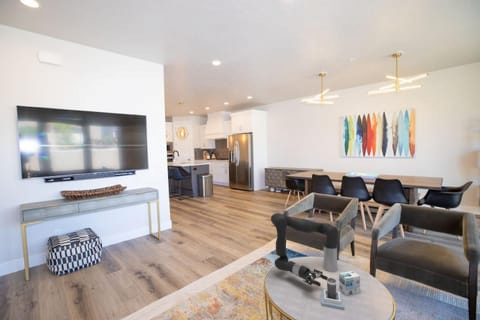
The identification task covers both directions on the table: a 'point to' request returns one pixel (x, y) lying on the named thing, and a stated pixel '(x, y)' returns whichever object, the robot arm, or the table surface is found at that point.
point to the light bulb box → (349, 282)
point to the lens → (331, 288)
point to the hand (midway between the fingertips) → (323, 281)
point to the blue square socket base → (332, 300)
